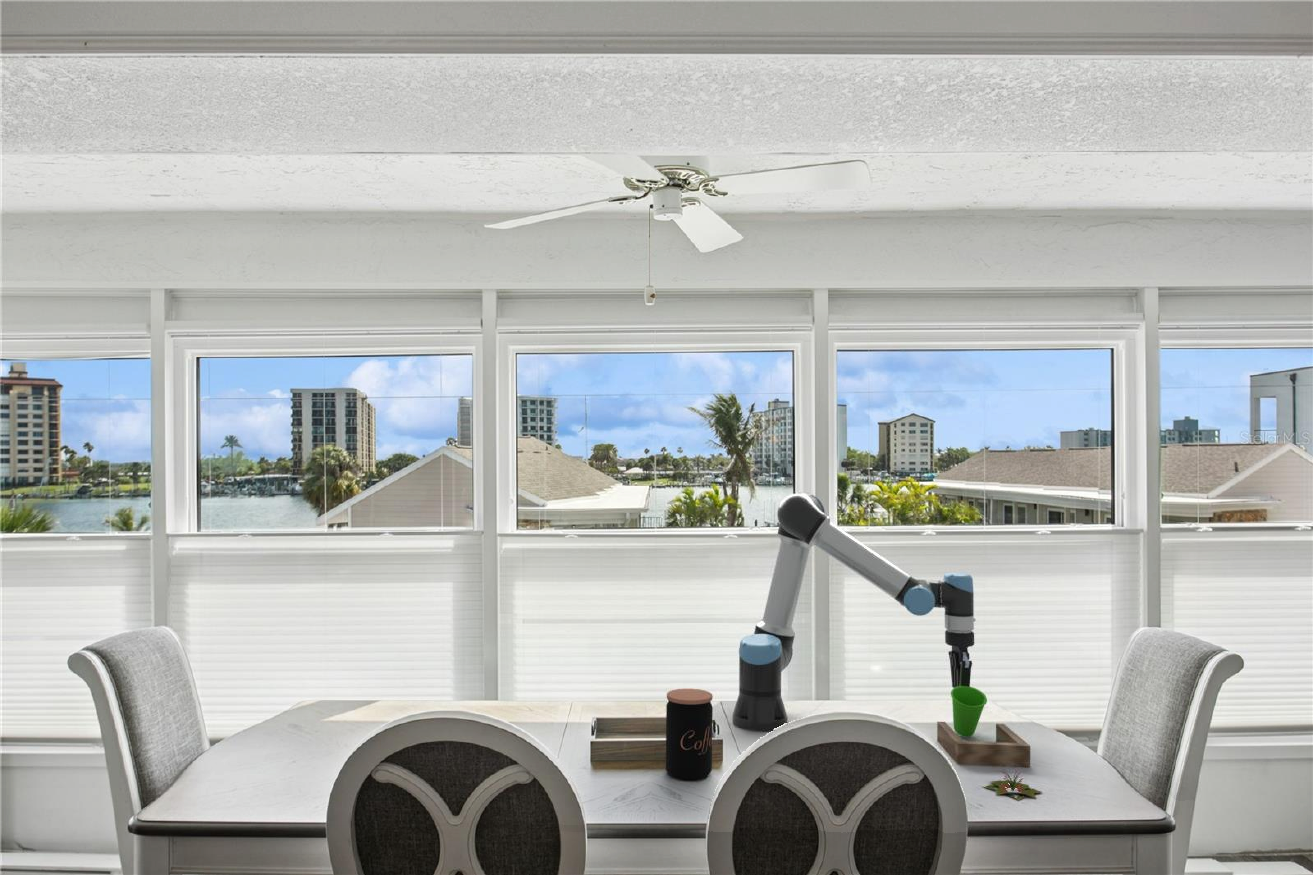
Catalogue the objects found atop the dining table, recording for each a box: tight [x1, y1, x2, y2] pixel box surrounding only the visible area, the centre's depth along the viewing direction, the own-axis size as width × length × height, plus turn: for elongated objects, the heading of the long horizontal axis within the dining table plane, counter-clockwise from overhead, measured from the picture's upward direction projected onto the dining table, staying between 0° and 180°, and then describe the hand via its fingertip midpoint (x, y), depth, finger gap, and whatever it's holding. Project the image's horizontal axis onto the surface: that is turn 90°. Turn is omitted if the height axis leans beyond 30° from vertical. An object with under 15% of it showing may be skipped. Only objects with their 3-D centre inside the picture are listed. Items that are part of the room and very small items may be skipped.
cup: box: [950, 686, 988, 738], centre depth 221 cm, size 9×9×11 cm
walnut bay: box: [936, 721, 1031, 768], centre depth 208 cm, size 17×18×5 cm
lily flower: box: [983, 769, 1042, 802], centre depth 184 cm, size 12×12×5 cm
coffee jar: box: [665, 688, 713, 782], centre depth 191 cm, size 11×11×18 cm
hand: (961, 717), depth 227 cm, fingers closed
